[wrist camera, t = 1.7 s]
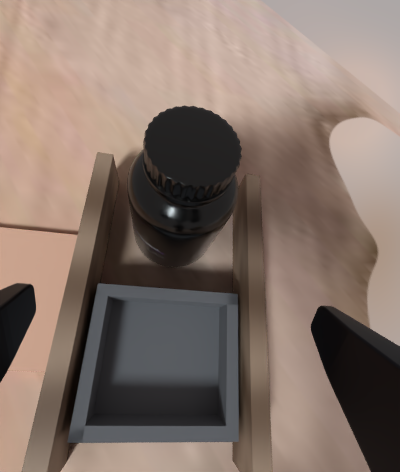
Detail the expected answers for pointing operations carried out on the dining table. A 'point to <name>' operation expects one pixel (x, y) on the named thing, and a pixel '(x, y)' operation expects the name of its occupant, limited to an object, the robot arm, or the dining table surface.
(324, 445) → the dining table surface
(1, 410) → the dining table surface
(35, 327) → the tile
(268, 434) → the walled lane
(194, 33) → the dining table surface
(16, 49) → the dining table surface
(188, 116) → the supplement bottle
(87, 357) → the box
